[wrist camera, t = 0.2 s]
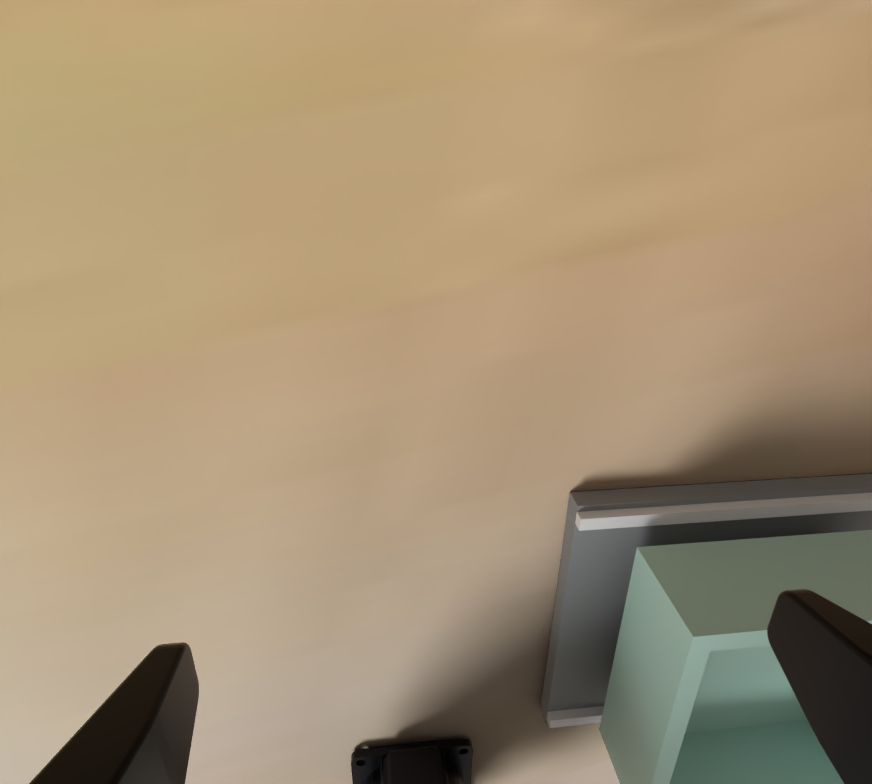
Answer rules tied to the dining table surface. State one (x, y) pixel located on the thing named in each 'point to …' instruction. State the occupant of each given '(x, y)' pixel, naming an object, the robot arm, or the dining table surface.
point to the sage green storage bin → (722, 660)
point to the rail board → (664, 525)
